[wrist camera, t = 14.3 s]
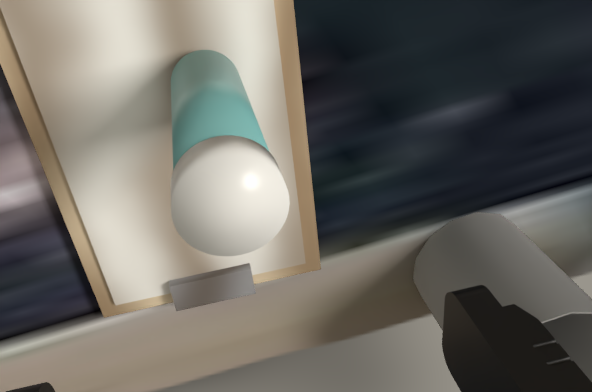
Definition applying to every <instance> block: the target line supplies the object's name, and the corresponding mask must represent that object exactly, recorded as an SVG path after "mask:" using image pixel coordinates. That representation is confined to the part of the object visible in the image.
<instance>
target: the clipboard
mask: <svg viewBox="0 0 592 392" xmlns="http://www.w3.org/2000/svg"><path fill="white" fill-rule="evenodd" d="M197 50H213V51H216V52H219V53H221V54H223V55H225V56H226V57H227V58H229V59H230V60H231V61H232V62H233V64H234V65H235V67H236V68H237V70H238V73H239V75H240V78H241V80H242V83H243V86H244V88H245V91H246V93H247V96H248V98H249V101H250V103H251V106H252V109H253V111H254V114H255V116H256V119H257V121H258V124H259V126H260V129H261V132H262V134H263V137H264V139H265V142H266V144H267V147H268V149H269V152H270V153H271V154H272V156H273V157H274V159H275V160H276V162H277V164H278V166H279V169H280V171H281V174H282V176H283V179H284V181H285V184H286V186H287V189H288V193H289V201H290V205H289V212H288V216H287V218H286V221H285V223H284V225H283V227H282V228H281V230H280V231H279V232H278V234H277V235H276V236H275V237H274V238H273V239H272V240H271V241H269V242H268V243H267V244H265V245H264V246H262V247H261V248H259V249H257V250H255V251H252V252H249V253H246V254H243V255H237V256H215V255H210V254H207V253H204V252H201V251H199V250H197V249H195V248H193V247H192V246H190V245H189V244H188V243H187V242H186V241H185V240H183V239H182V237H181V236H180V235H179V233H178V232H177V230H176V228H175V226H174V224H173V221H172V216H171V188H170V184H171V177H172V173H173V147H172V114H171V75H172V72H173V69H174V67H175V66H176V64H177V63H178V62H179V60H180V59H182V58H183V57H184V56H185V55H187V54H189V53H191V52H194V51H197ZM0 64H1V67H2V69H3V72H4V74H5V76H6V79H7V81H8V84H9V86H10V89H11V91H12V94H13V96H14V98H15V101H16V103H17V106H18V108H19V111H20V113H21V116H22V118H23V121H24V123H25V125H26V128H27V130H28V133H29V135H30V138H31V140H32V143H33V145H34V147H35V150H36V152H37V155H38V157H39V160H40V162H41V165H42V167H43V169H44V172H45V174H46V177H47V179H48V182H49V184H50V187H51V189H52V191H53V194H54V196H55V199H56V201H57V204H58V206H59V209H60V211H61V213H62V216H63V218H64V221H65V223H66V226H67V228H68V231H69V233H70V235H71V238H72V240H73V243H74V245H75V248H76V250H77V253H78V255H79V258H80V260H81V262H82V265H83V267H84V270H85V272H86V275H87V277H88V280H89V282H90V284H91V287H92V289H93V292H94V294H95V297H96V299H97V302H98V304H99V306H100V309H101V311H102V314H103V316H104V318H105V317H109V316H114V315H118V314H123V313H127V312H132V311H136V310H141V309H145V308H149V307H154V306H158V305H163V304H167V303H172V302H174V305H175V308H176V311H180V310H184V309H188V308H193V307H197V306H202V305H206V304H211V303H215V302H220V301H224V300H228V299H233V298H237V297H242V296H246V295H251V294H255V287H254V284H257V283H262V282H266V281H270V280H275V279H279V278H284V277H288V276H293V275H297V274H302V273H306V272H311V271H315V270H320V269H321V266H320V256H319V246H318V236H317V227H316V217H315V207H314V198H313V188H312V178H311V169H310V159H309V149H308V139H307V130H306V120H305V110H304V101H303V91H302V81H301V72H300V62H299V52H298V42H297V33H296V23H295V13H294V4H293V0H0Z"/></svg>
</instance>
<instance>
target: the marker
mask: <svg viewBox="0 0 592 392" xmlns="http://www.w3.org/2000/svg"><path fill="white" fill-rule="evenodd" d="M171 114H172V147H173V173H172V177H171V184H170V188H171V216H172V221H173V224H174V226H175V228H176V230H177V232H178V233H179V235H180V236H181V237H182V239H183V240H185V241H186V242H187V243H188V244H189V245H190V246H192V247H193V248H195V249H197V250H199V251H201V252H204V253H207V254H210V255H215V256H237V255H243V254H246V253H249V252H252V251H255V250H257V249H259V248H261V247H262V246H264V245H265V244H267V243H268V242H269V241H271V240H272V239H273V238H274V237H275V236H276V235H277V234H278V232H279V231H280V230H281V228H282V227H283V225H284V223H285V221H286V218H287V216H288V212H289V205H290V201H289V193H288V189H287V186H286V184H285V181H284V179H283V176H282V174H281V171H280V169H279V166H278V164H277V162H276V160H275V159H274V157H273V156H272V154H271V153H270V152H269V149H268V147H267V144H266V142H265V139H264V137H263V134H262V132H261V129H260V126H259V124H258V121H257V119H256V116H255V114H254V111H253V109H252V106H251V103H250V101H249V98H248V96H247V93H246V91H245V88H244V86H243V83H242V80H241V78H240V75H239V73H238V70H237V68H236V67H235V65H234V64H233V62H232V61H231V60H230V59H229V58H227V57H226V56H225V55H223V54H221V53H219V52H216V51H213V50H197V51H194V52H191V53H189V54H187V55H185V56H184V57H183V58H182V59H180V60H179V62H178V63H177V64H176V66H175V67H174V69H173V72H172V75H171Z"/></svg>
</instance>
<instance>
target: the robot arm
mask: <svg viewBox="0 0 592 392" xmlns="http://www.w3.org/2000/svg"><path fill="white" fill-rule="evenodd" d="M442 347H443V353H444V357H445V360H446V364H447V366H448V369H449V370H450V372H451V374H452V376H453V378H454V380H455V381H456V383H457V385H458V387H459V388H460V390H461V392H592V382H591V381H590V380H589V378H588V377H587V376H586V375H585V374H584V372H583V371H582V370H581V369H580V368H579V367H578V365H577V364H576V363H575V362H574V361H571V360H570V356H569V355H568V354H567V352H566V351H565V350H564V349H563V348H562V347H561V345H560V344H557V343H556V341H555V338H554V337H553V336H552V335H551V334H550V332H549V331H548V330H547V329H546V328H545V326H544V325H543V324H542V323H541V322H540V321H539V319H537V318H536V317H534V316H533V315H531V314H529V313H528V312H526V311H525V310H523V309H522V308H520V307H518V306H517V305H515V304H511V305H507V306H503V307H502V306H501V304H500V303H499V302H498V301H497V299H496V298H495V297H494V295H493V294H492V293H491V292H490V290H489V289H488V288H487V287H486V286H484V285H478V286H473V287H469V288H465V289H460V290H456V291H451V292H448V293H446V295H445V302H444V320H443V338H442ZM6 392H55V391H54V389H53V387H52V386H51V384H49V383H47V382H45V383H41V384H37V385H32V386H28V387H23V388H19V389H15V390H10V391H6Z"/></svg>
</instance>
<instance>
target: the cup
mask: <svg viewBox="0 0 592 392" xmlns="http://www.w3.org/2000/svg"><path fill="white" fill-rule="evenodd" d="M413 281H414V283H415V285H416V287H417V289H418V291H419V293H420V295H421V297H422V298H423V300H424V301H425V303H426V305H427V306H428V308H429V309H430V311H431V313H432V314H433V316H434V317H435V319H436V320H437V322H438V324H439V326H440V327H441V328H442V330H443V320H444V302H445V295H446V293H448V292H451V291H456V290H460V289H465V288H469V287H473V286H478V285H484V286H486V287H487V288H488V289H489V290H490V292H491V293H492V294H493V295H494V297H495V298H496V299H497V301H498V302H499V303H500V304H501V306H502V307H503V306H507V305H511V304H515V305H517V306H518V307H520V308H522V309H523V310H525V311H526V312H528V313H529V314H531V315H533V316H534V317H536V318H537V319H539V321H540V322H541V323H542V324H543V325H544V326H545V328H546V329H547V330H548V331H549V332H550V334H551V335H552V336H553V337H554V338H555V341H556V343H557V344H560V345H561V347H562V348H563V349H564V350H565V351H566V352H567V354H568V355H569V356H570V360H571V361H574V362H575V363H576V364H577V365H578V367H579V368H580V369H581V370H582V371H583V372H584V374H585V375H586V376H587V377H588V378H589V380H590V381H591V382H592V299H591V298H590V297H589V296H588V295H587V294H586V293H585V292H584V291H583V290H582V289H581V288H579V286H578V285H577V284H576V283H574V281H573V280H572V279H571V278H570V277H568V276H567V275H566V274H565V273H564V272H563V271H562V270H561V269H560V268H559V267H558V266H557V265H556V264H555V263H554V262H553V261H552V260H551V259H550V258H549V257H548V256H547V255H546V254H545V253H544V252H543V251H542V250H541V249H540V248H539V247H538V246H536V245H535V244H534V243H533V242H532V241H531V240H530V239H529V238H528V237H527V236H526V235H525V234H524V233H523V232H522V231H521V230H520V229H519V228H518V227H517V226H516V225H514V224H513V223H512V222H510V221H509V220H508V219H506V218H505V217H504V216H502V215H501V214H492V213H480V212H476V213H473V214H470V215H467V216H464V217H461V218H458V219H455V220H452V221H450V222H449V223H448V224H446V225H445V226H444V227H443V228H441V229H440V230H439V231H437V232H436V233H435V234H433V235H432V236H431V237H429V239H428V240H427V242H426V244H425V245H424V247H423V248H422V250H421V251H420V253H419V254H418V256H417V257H416V261H415V268H414V275H413Z"/></svg>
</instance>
